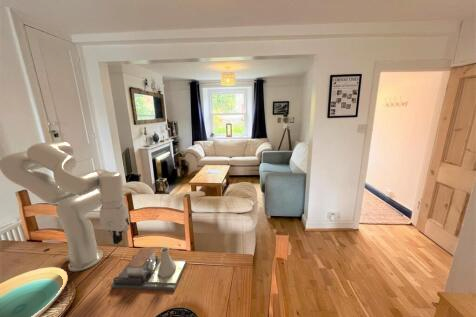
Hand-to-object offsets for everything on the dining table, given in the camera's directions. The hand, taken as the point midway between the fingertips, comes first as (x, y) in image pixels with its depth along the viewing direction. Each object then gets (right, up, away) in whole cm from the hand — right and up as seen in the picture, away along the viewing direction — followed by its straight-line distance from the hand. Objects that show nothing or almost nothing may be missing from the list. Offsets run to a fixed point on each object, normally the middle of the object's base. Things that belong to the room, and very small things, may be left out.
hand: (118, 241), depth 82 cm
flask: (+22, -11, -3) cm, 25 cm away
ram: (+13, -11, -2) cm, 17 cm away
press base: (+15, -13, -2) cm, 20 cm away
